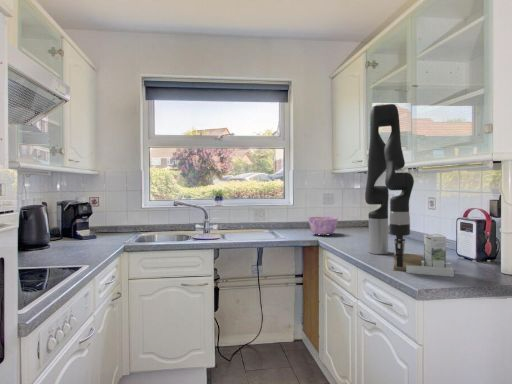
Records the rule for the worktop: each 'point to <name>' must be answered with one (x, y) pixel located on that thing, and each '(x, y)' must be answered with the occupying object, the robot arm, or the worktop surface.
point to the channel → (429, 270)
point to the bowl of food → (323, 225)
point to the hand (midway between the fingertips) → (399, 265)
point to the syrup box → (435, 250)
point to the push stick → (408, 260)
